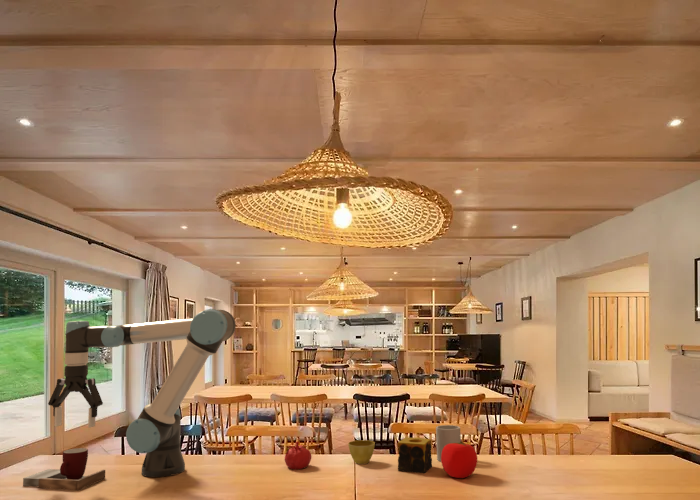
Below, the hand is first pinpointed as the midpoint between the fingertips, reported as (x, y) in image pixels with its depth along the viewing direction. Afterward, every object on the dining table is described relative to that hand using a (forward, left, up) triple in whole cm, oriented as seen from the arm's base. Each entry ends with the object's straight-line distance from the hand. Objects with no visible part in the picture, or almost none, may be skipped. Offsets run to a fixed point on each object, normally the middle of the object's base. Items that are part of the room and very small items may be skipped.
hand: (74, 426), depth 207 cm
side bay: (+3, +1, -19) cm, 19 cm away
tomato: (-130, -28, -19) cm, 135 cm away
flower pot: (-93, -42, -19) cm, 104 cm away
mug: (0, 0, -19) cm, 19 cm away
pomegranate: (-71, -32, -19) cm, 80 cm away
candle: (-114, -36, -19) cm, 121 cm away
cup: (-125, -51, -19) cm, 136 cm away
